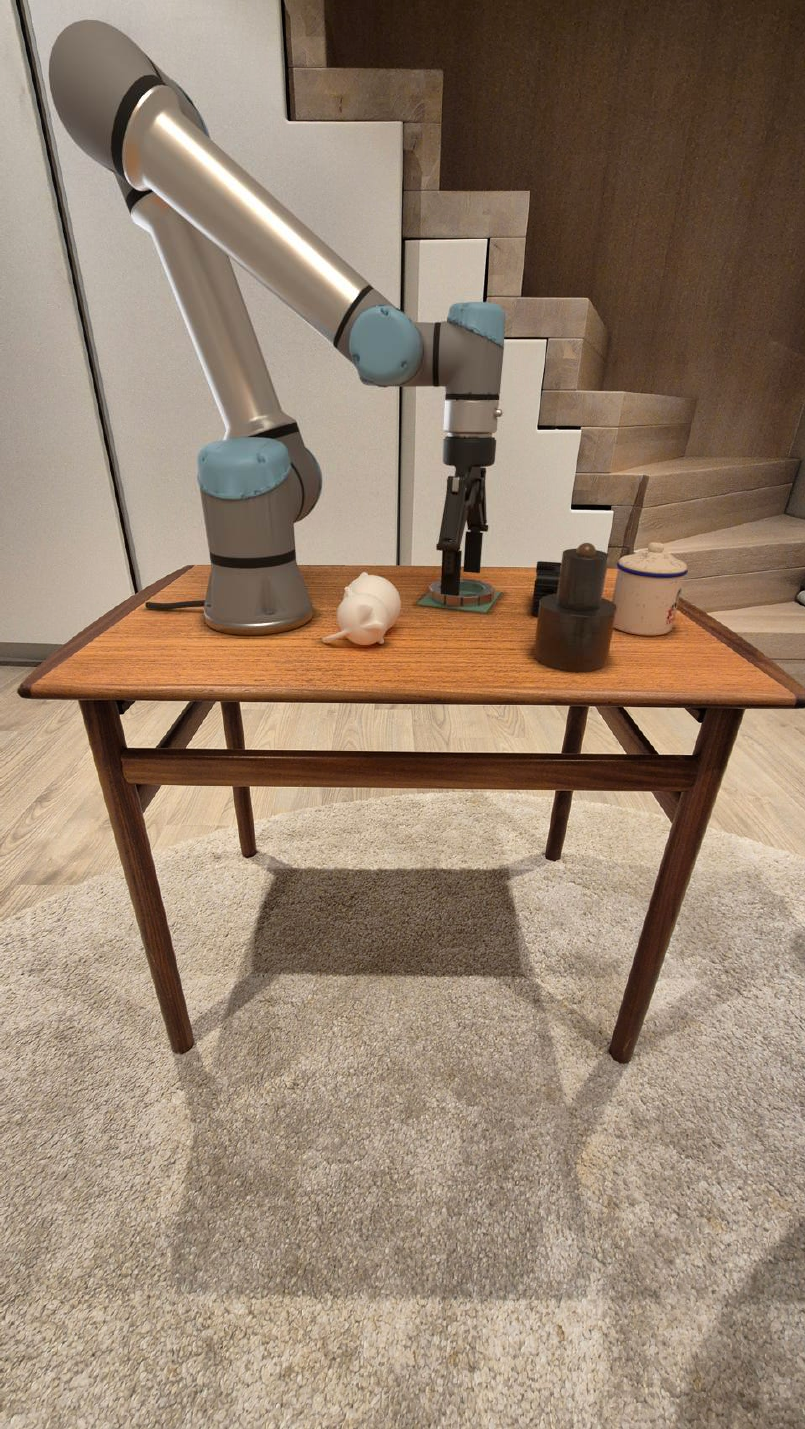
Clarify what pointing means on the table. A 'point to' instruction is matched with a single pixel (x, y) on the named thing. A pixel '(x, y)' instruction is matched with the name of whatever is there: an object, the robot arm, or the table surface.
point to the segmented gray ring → (480, 598)
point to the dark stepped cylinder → (576, 615)
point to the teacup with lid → (648, 591)
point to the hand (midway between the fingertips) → (461, 582)
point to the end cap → (545, 582)
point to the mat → (481, 609)
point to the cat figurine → (367, 610)
